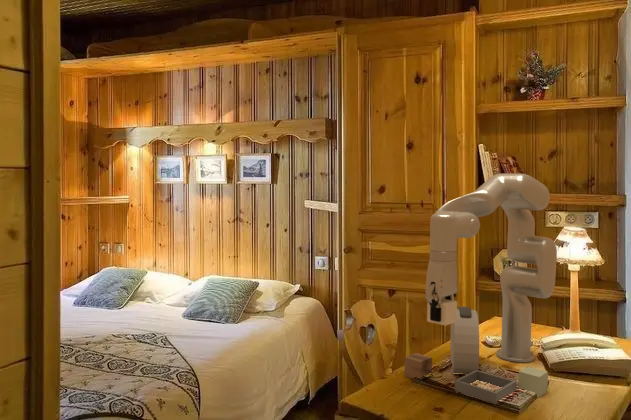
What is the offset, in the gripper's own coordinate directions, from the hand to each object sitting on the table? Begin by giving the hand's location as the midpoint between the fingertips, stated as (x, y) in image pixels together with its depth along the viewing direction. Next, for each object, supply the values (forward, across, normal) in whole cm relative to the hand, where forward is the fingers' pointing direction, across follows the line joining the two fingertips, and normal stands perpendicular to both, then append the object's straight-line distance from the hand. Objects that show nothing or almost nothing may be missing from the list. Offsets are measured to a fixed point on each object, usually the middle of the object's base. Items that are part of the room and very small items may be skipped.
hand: (441, 318), depth 152 cm
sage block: (+21, -19, +19) cm, 34 cm away
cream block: (+1, 0, 0) cm, 1 cm away
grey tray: (+21, -8, +10) cm, 25 cm away
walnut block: (+21, -5, -11) cm, 24 cm away
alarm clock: (+22, -22, -5) cm, 31 cm away
